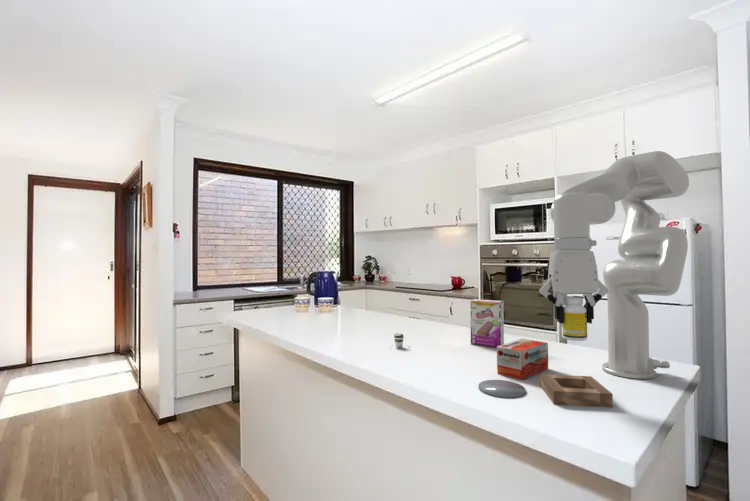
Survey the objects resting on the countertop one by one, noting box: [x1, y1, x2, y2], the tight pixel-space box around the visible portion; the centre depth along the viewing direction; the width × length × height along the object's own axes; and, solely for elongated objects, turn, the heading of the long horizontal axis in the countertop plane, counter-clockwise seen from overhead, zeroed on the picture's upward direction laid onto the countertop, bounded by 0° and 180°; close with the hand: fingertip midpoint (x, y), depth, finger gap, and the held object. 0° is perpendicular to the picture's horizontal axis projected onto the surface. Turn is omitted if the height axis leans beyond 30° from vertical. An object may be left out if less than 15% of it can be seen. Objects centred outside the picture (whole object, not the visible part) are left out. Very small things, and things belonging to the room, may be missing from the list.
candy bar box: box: [470, 298, 505, 348], centre depth 141 cm, size 11×5×16 cm, turn 58°
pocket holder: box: [539, 373, 614, 409], centre depth 90 cm, size 12×12×3 cm
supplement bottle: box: [560, 296, 588, 342], centre depth 90 cm, size 5×5×10 cm
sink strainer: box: [389, 333, 411, 350], centre depth 139 cm, size 12×12×5 cm
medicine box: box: [496, 338, 549, 381], centre depth 109 cm, size 15×8×8 cm, turn 132°
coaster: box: [477, 379, 526, 399], centre depth 94 cm, size 11×11×1 cm
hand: (574, 321), depth 90 cm, fingers closed on supplement bottle, 5 cm apart
